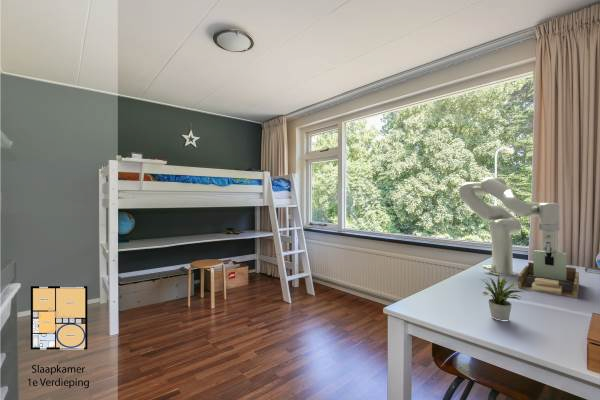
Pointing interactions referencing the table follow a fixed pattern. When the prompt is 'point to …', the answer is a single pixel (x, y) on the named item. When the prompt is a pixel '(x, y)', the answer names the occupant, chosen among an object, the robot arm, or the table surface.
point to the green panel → (549, 270)
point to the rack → (568, 285)
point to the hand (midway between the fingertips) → (549, 263)
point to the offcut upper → (547, 282)
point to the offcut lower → (547, 289)
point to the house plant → (500, 299)
